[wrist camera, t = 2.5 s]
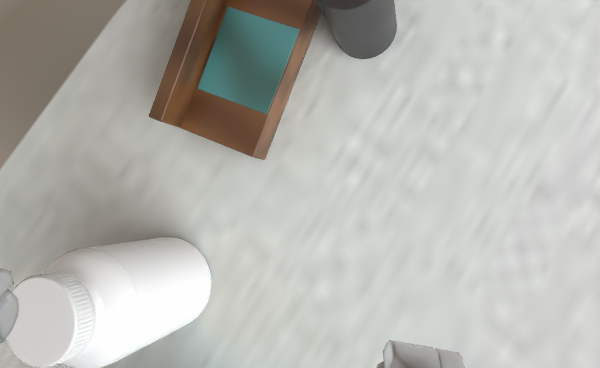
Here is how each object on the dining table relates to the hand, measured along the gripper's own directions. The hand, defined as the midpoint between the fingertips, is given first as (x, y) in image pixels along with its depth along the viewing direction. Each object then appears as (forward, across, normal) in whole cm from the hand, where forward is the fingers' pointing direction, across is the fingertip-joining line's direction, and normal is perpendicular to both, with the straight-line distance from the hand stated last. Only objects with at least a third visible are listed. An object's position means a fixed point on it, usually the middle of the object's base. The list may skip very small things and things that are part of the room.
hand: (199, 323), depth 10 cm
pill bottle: (+23, +8, +23) cm, 33 cm away
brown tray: (+32, +4, +5) cm, 33 cm away
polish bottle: (+32, -5, 0) cm, 33 cm away
